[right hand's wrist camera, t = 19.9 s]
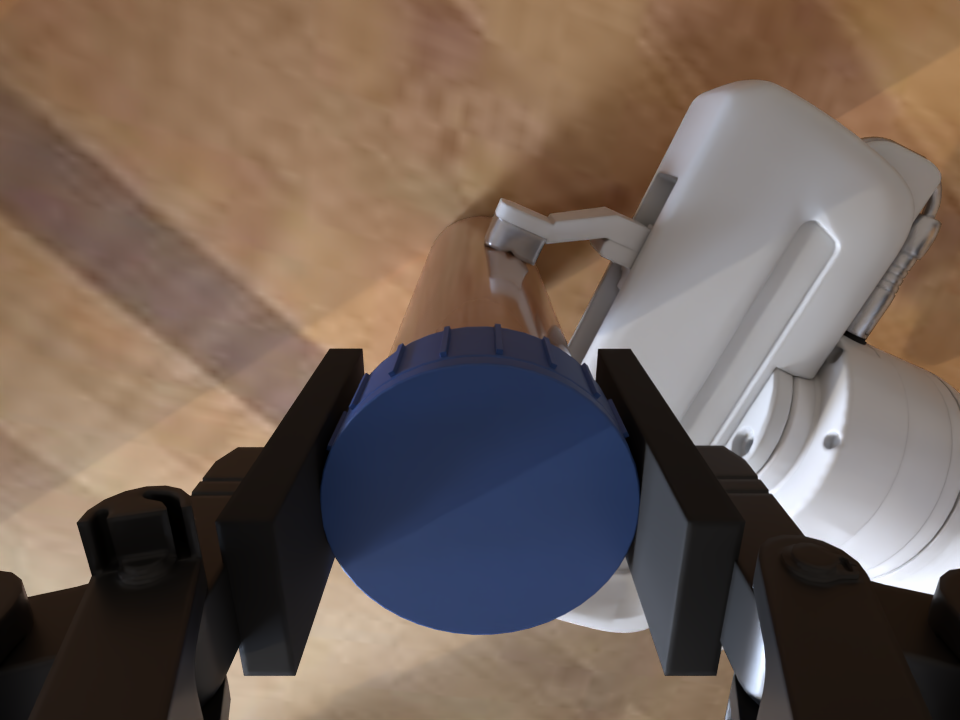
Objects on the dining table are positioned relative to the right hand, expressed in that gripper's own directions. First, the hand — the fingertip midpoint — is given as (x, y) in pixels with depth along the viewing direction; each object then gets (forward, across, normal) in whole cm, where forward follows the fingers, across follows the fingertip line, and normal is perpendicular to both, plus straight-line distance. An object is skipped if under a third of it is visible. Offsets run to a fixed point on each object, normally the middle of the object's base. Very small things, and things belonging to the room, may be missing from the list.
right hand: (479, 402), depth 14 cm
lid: (-4, 0, 0) cm, 4 cm away
